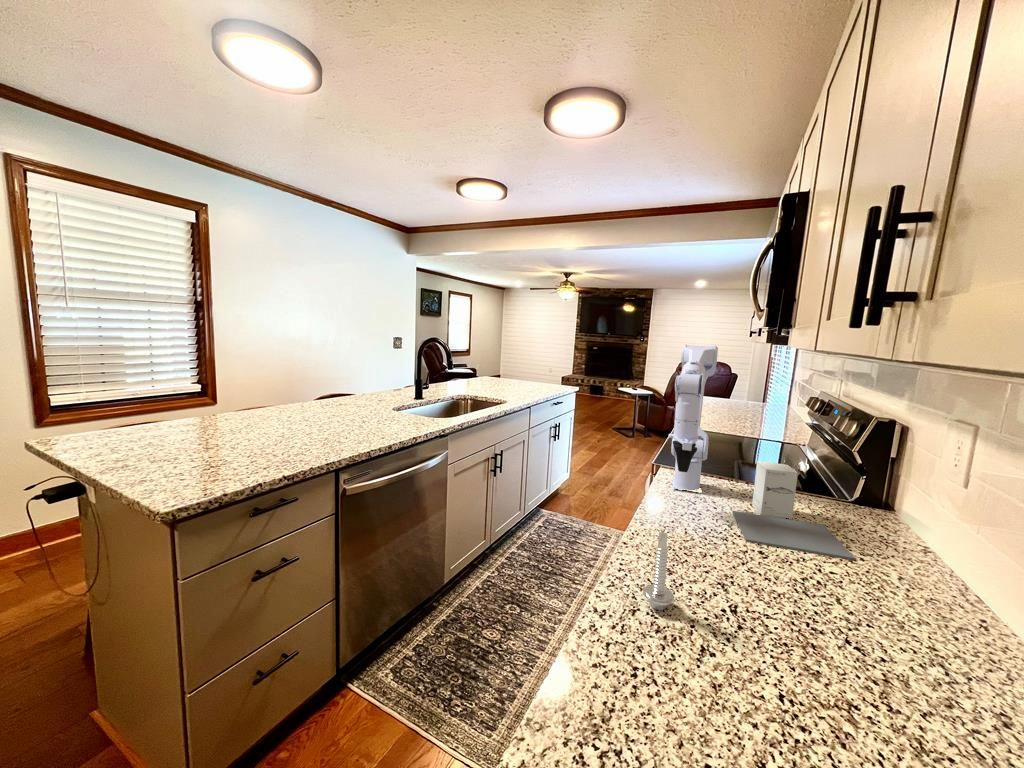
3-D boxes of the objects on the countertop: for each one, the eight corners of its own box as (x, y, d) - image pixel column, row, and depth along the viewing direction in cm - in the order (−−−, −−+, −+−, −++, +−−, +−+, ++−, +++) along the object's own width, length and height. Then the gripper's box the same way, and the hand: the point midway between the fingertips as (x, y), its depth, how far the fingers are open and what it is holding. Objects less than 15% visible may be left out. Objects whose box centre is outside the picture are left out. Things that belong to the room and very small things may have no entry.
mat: (732, 512, 103) (732, 510, 103) (823, 526, 97) (824, 524, 96) (745, 541, 88) (746, 539, 88) (855, 560, 82) (855, 558, 82)
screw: (673, 618, 63) (641, 610, 64) (672, 600, 67) (642, 593, 69) (680, 541, 61) (647, 535, 63) (678, 528, 66) (647, 522, 67)
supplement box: (759, 515, 102) (765, 468, 100) (751, 504, 109) (756, 460, 107) (793, 520, 99) (798, 472, 98) (782, 508, 107) (787, 463, 105)
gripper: (669, 413, 110) (665, 460, 112) (671, 423, 97) (667, 476, 98) (696, 415, 108) (692, 463, 110) (702, 426, 94) (698, 480, 96)
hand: (682, 470), depth 104 cm, fingers closed
